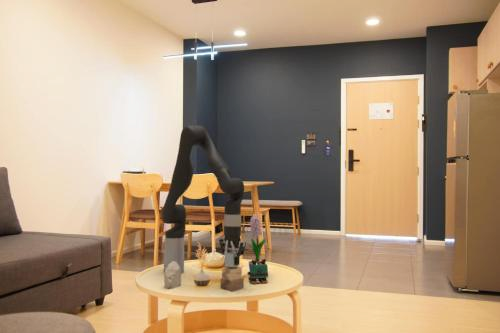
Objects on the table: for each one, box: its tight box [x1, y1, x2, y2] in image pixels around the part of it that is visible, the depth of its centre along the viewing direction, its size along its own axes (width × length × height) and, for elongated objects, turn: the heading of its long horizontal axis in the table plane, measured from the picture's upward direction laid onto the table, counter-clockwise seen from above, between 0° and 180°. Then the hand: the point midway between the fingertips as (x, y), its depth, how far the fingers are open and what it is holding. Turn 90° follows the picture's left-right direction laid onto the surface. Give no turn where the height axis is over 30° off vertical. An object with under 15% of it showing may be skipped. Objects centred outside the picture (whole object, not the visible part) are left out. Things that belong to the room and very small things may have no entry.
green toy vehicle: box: [247, 258, 269, 285], centre depth 200 cm, size 9×11×10 cm
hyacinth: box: [246, 213, 266, 280], centre depth 208 cm, size 9×10×30 cm
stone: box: [163, 261, 182, 290], centre depth 191 cm, size 9×5×10 cm, turn 151°
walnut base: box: [219, 277, 245, 292], centre depth 189 cm, size 7×7×4 cm
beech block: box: [221, 266, 243, 281], centre depth 189 cm, size 6×6×4 cm
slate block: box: [224, 250, 240, 267], centre depth 189 cm, size 4×4×6 cm
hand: (232, 264), depth 189 cm, fingers closed on slate block, 4 cm apart
